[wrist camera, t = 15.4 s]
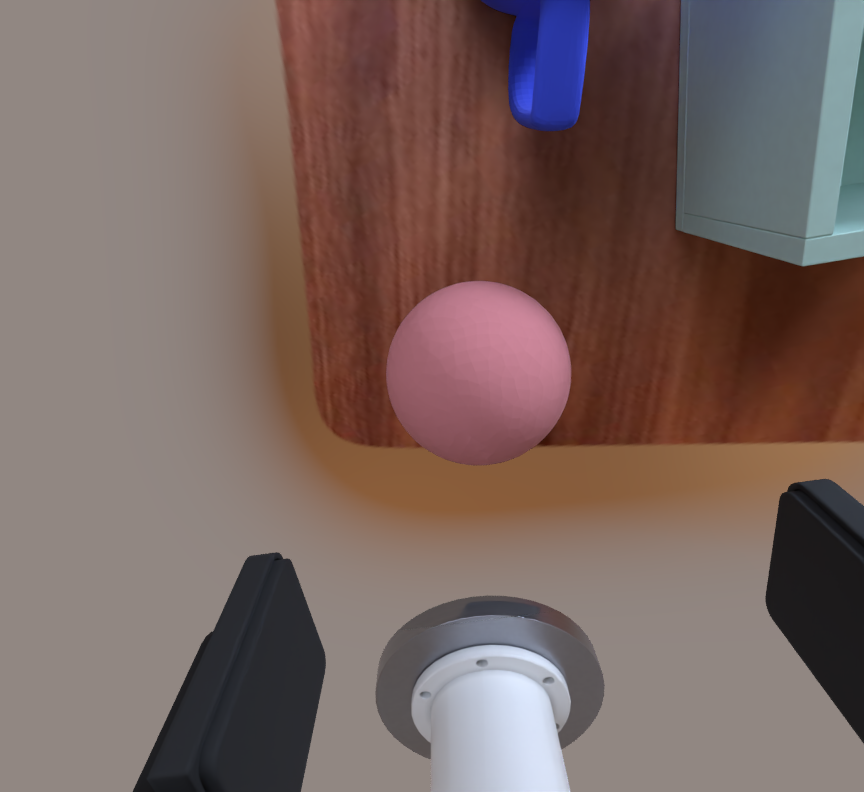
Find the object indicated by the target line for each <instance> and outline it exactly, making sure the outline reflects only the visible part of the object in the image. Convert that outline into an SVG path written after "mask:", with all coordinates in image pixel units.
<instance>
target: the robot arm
mask: <svg viewBox="0 0 864 792" xmlns="http://www.w3.org/2000/svg"><path fill="white" fill-rule="evenodd" d="M766 606H767V609H768V612H769V614H770V616H771V617H772V619H773V621H774V622H775V623H776V625H777V626H778V627H779V629H780V630H781V631H782V633H783V634H784V636H785V637H786V638H787V639H788V641H789V642H790V644H791V645H792V646H793V648H794V649H795V651H796V652H797V653H798V655H799V656H800V657H801V659H802V660H803V661H804V663H805V664H806V665H807V667H808V668H809V670H810V671H811V672H812V674H813V675H814V676H815V678H816V679H817V680H818V682H819V683H820V685H821V686H822V687H823V689H824V690H825V691H826V693H827V694H828V695H829V697H830V698H831V700H832V701H833V702H834V704H835V705H836V706H837V708H838V709H839V710H840V712H841V713H842V714H843V716H844V717H845V718H846V720H847V721H848V723H849V724H850V725H851V727H852V728H853V730H854V731H855V732H856V734H857V735H858V736H859V737H860V739H861V740H862V742H863V743H864V506H863V505H862V504H861V503H859V502H858V501H857V500H856V499H854V498H853V497H852V496H851V495H850V494H848V493H847V492H846V491H845V490H843V489H842V488H841V487H840V486H839V485H837V484H836V483H835V482H833V481H831V480H829V479H820V480H813V481H805V482H798V483H793V484H791V485H790V486H789V488H788V491H787V492H785V493H782V495H781V496H780V500H779V507H778V514H777V521H776V528H775V534H774V541H773V548H772V556H771V562H770V570H769V577H768V584H767V591H766ZM325 666H326V660H325V652H324V649H323V646H322V644H321V641H320V638H319V635H318V633H317V630H316V627H315V624H314V622H313V619H312V616H311V613H310V611H309V608H308V605H307V602H306V600H305V597H304V594H303V592H302V589H301V586H300V583H299V580H298V578H297V575H296V572H295V569H294V567H293V564H292V562H291V560H290V559H283V557H282V556H281V554H280V553H269V554H261V555H254V556H249V557H248V558H247V560H246V561H245V563H244V565H243V567H242V569H241V572H240V574H239V576H238V578H237V580H236V583H235V585H234V587H233V589H232V591H231V594H230V596H229V598H228V600H227V602H226V605H225V607H224V609H223V611H222V614H221V616H220V618H219V620H218V622H217V624H216V627H215V629H214V631H213V632H211V633H210V634H209V635H207V636H206V637H205V639H204V641H203V643H202V644H201V646H200V648H199V651H198V653H197V655H196V657H195V659H194V661H193V663H192V666H191V668H190V670H189V672H188V674H187V676H186V678H185V681H184V683H183V685H182V687H181V689H180V691H179V693H178V695H177V698H176V700H175V702H174V704H173V706H172V709H171V710H170V713H169V715H168V717H167V719H166V721H165V723H164V726H163V728H162V730H161V732H160V734H159V736H158V738H157V741H156V743H155V745H154V747H153V749H152V751H151V753H150V756H149V758H148V760H147V762H146V764H145V767H144V769H143V771H142V773H141V775H140V777H139V779H138V781H137V784H136V786H135V788H134V790H133V792H301V787H302V783H303V778H304V773H305V768H306V762H307V758H308V753H309V748H310V743H311V738H312V733H313V728H314V723H315V718H316V713H317V709H318V704H319V699H320V694H321V689H322V684H323V679H324V674H325ZM570 706H571V700H570V695H569V691H568V687H567V684H566V681H565V679H564V677H563V675H562V674H561V673H560V671H559V670H558V668H557V667H555V666H554V665H553V664H552V663H551V662H550V661H548V660H547V659H545V658H543V657H542V656H540V655H538V654H536V653H534V652H531V651H528V650H525V649H522V648H518V647H512V646H507V645H482V646H474V647H469V648H465V649H461V650H458V651H456V652H453V653H450V654H448V655H446V656H444V657H442V658H441V659H439V660H437V661H435V662H434V663H433V664H432V665H430V666H429V667H428V668H427V669H426V670H425V671H424V672H423V673H422V674H421V676H420V677H419V678H418V680H417V682H416V684H415V686H414V688H413V693H412V699H411V714H412V718H413V721H414V724H415V726H416V728H417V729H418V731H419V733H420V734H421V735H422V736H423V737H424V738H425V739H426V740H427V741H428V742H430V743H431V792H570V787H569V783H568V778H567V774H566V769H565V765H564V760H563V756H562V751H561V747H560V742H559V737H558V732H559V731H560V730H561V729H562V727H563V726H564V724H565V723H566V721H567V719H568V716H569V713H570Z"/></svg>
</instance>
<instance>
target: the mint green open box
mask: <svg viewBox="0 0 864 792" xmlns="http://www.w3.org/2000/svg"><path fill="white" fill-rule="evenodd" d="M676 230H679V231H683V232H685V233H688V234H692V235H695V236H699V237H702V238H706V239H709V240H713V241H716V242H720V243H723V244H727V245H730V246H734V247H737V248H741V249H744V250H747V251H751V252H754V253H758V254H761V255H765V256H768V257H772V258H775V259H779V260H782V261H786V262H789V263H793V264H796V265H799V266H809V265H815V264H821V263H827V262H833V261H839V260H845V259H851V258H857V257H864V0H681V25H680V67H679V109H678V151H677V193H676Z"/></svg>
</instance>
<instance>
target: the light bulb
mask: <svg viewBox="0 0 864 792" xmlns="http://www.w3.org/2000/svg"><path fill="white" fill-rule="evenodd" d="M386 377H387V388H388V393H389V397H390V401H391V404H392V406H393V409H394V411H395V414H396V416H397V417H398V419H399V421H400V422H401V424H402V425H403V427H404V428H405V430H406V431H407V432H408V433H409V434H410V435H411V437H412V438H413V439H414V440H415V441H416V442H418V443H419V444H420V445H421V446H423V447H424V448H425V449H427V450H428V451H430V452H432V453H434V454H435V455H437V456H439V457H442V458H444V459H446V460H449V461H453V462H456V463H460V464H467V465H490V464H496V463H501V462H505V461H508V460H510V459H513V458H515V457H518V456H520V455H522V454H523V453H525V452H527V451H528V450H530V449H532V448H533V447H535V446H536V445H537V444H538V443H539V442H540V441H541V440H543V439H544V438H545V437H546V436H547V434H548V433H549V432H550V431H551V430H552V428H553V427H554V426H555V424H556V423H557V421H558V419H559V418H560V416H561V414H562V412H563V410H564V408H565V405H566V402H567V399H568V396H569V390H570V385H571V362H570V356H569V352H568V347H567V344H566V341H565V339H564V337H563V334H562V332H561V329H560V328H559V326H558V325H557V323H556V322H555V320H554V319H553V317H552V316H551V315H550V314H549V312H548V311H547V310H546V309H545V308H543V307H542V306H541V305H540V304H539V303H538V302H537V301H536V300H535V299H533V298H532V297H530V296H529V295H527V294H525V293H524V292H522V291H520V290H518V289H515V288H513V287H511V286H508V285H504V284H501V283H496V282H488V281H470V282H463V283H457V284H454V285H451V286H448V287H445V288H442V289H440V290H438V291H436V292H434V293H433V294H431V295H429V296H428V297H426V298H425V299H424V300H422V301H421V302H420V303H418V304H417V305H416V306H415V307H414V308H413V309H412V310H411V311H410V312H409V314H408V315H407V316H406V317H405V319H404V320H403V321H402V323H401V325H400V326H399V328H398V330H397V332H396V334H395V336H394V338H393V340H392V343H391V346H390V349H389V354H388V359H387V370H386Z"/></svg>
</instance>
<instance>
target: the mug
mask: <svg viewBox="0 0 864 792" xmlns="http://www.w3.org/2000/svg"><path fill="white" fill-rule="evenodd" d="M481 1H482V2H484V3H485V4H486V5H488V6H489V7H491V8H493V9H495V10H498V11H500V12H503V13H507V14H510V15H515V16H516V19H515V22H514V25H513V30H512V36H511V45H510V57H509V77H508V90H509V105H510V109H511V112H512V115H513V117H514V118H515V120H516V121H517V122H518V123H519V124H521V125H523V126H525V127H527V128H531V129H535V130H540V131H560V130H565V129H568V128H571V127H572V126H573V125H575V123H576V121H577V119H578V116H579V112H580V104H581V97H582V90H583V82H584V74H585V64H586V55H587V46H588V33H589V17H590V0H481Z"/></svg>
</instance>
